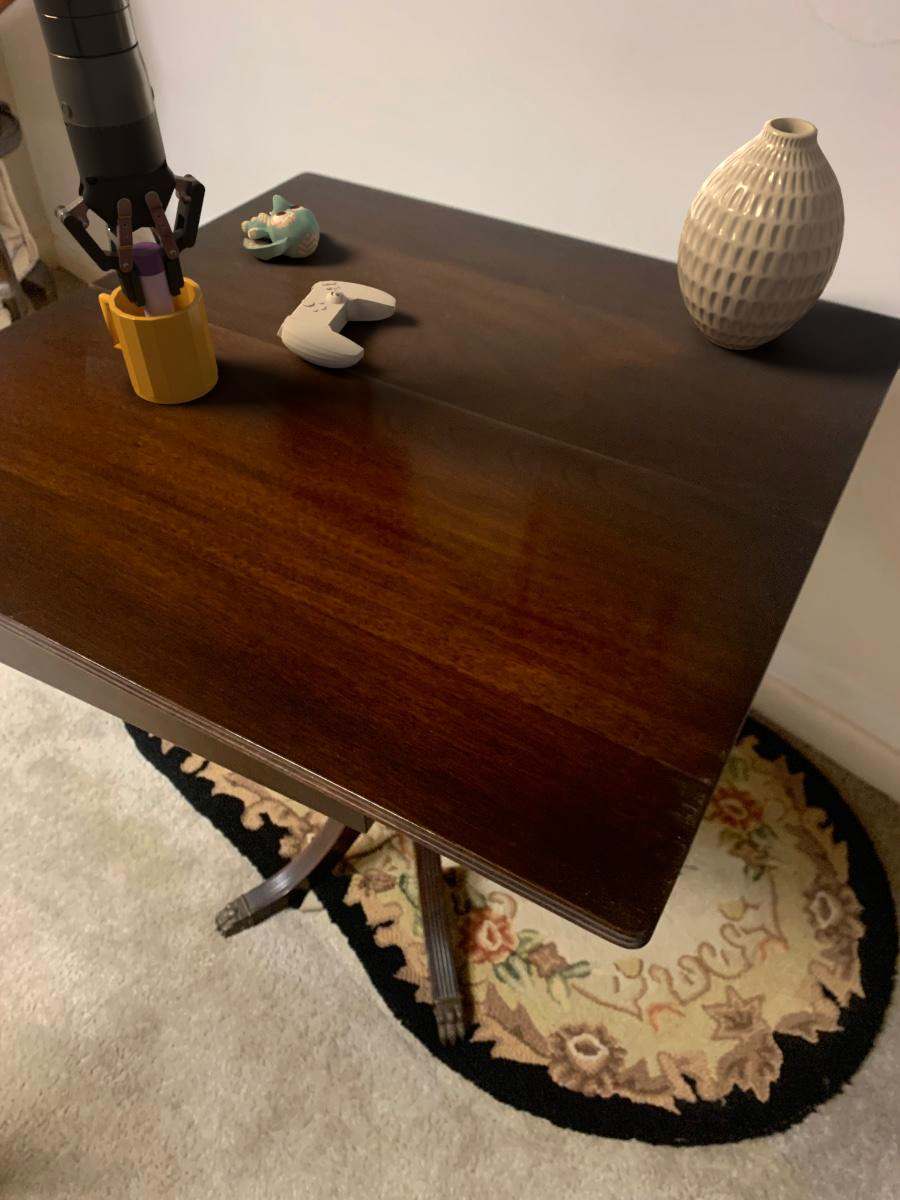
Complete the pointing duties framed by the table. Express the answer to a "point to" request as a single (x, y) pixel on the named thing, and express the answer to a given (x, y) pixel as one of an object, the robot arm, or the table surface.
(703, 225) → the vase
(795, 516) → the table surface
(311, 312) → the game controller
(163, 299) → the glue stick
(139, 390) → the mug
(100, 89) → the robot arm
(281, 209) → the green dragon head figurine
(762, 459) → the table surface
